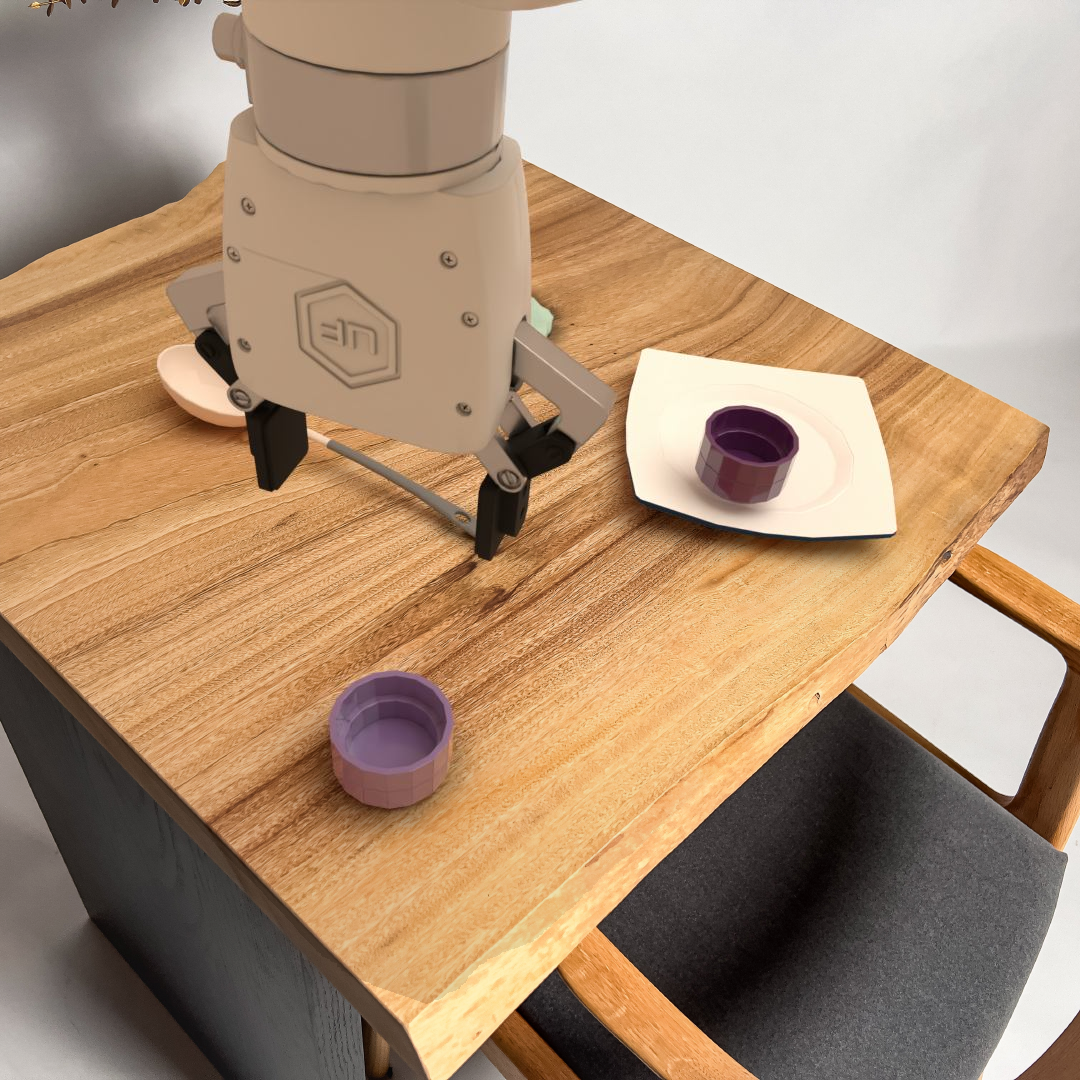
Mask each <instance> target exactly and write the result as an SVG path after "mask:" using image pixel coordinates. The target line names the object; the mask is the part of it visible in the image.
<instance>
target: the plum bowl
mask: <svg viewBox="0 0 1080 1080" xmlns="http://www.w3.org/2000/svg"><path fill="white" fill-rule="evenodd" d="M798 451H799V437H798V436H797V434H796V432H795V431H794V429H793V427H792V426H791V425H790V424H789V423H787V422H786V421H785V420H784V419H782V418H781V417H780V416H778V415H776V414H774V413H772V412H769V411H767V410H765V409H762V408H757V407H752V406H746V405H738V406H727V407H724V408H722V409H719V410H717V411H714V412H713V413H712V415H711V416H710V417H709V418H708V419H707V420H706V423H705V426H704V430H703V434H702V437H701V441H700V445H699V448H698V452H697V456H696V463H695V470H696V472H697V474H698V476H699V479H700V481H701V482H702V483H703V484H704V485H706V486H707V488H708V489H709V490H711V491H712V492H713V493H714V494H716V495H717V496H719V497H721V498H723V499H726V500H728V501H731V502H735V503H741V504H755V503H761V502H767V501H769V500H771V499H773V498H775V497H777V496H779V495H780V493H781V492H782V490H783V489H784V487H785V486H786V483H787V481H788V478H789V475H790V473H791V470H792V467H793V465H794V462H795V459H796V457H797V454H798Z"/></svg>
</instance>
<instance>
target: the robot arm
mask: <svg viewBox="0 0 1080 1080" xmlns="http://www.w3.org/2000/svg"><path fill="white" fill-rule="evenodd" d="M581 1H582V0H240V4H241V5H240V6H241V11H240V12H239V15H238V14H233V13H229V12H221V13H219V14H218V15H217V17H216V19H215V20H214V23H213V27H212V30H211V42H212V43H211V44H212V47H213V51H214V53H215V55H216V57H217V58H218V59H220V60H221V61H226V62H229V63H234V64H236V66H237V67H238V68H239V70H240V69H241V70H244V71H245V81H246V89H247V90H246V91H247V98H248V103H249V105H251V106H250V107H248V108H246V109H244V110H243V111H241V112H239V113H238V114H237V115H236V116H235V117H233V119H232V121H231V122H230V127H229V134H228V142H227V149H226V150H227V152H226V159H225V170H224V183H223V195H222V196H223V197H222V198H223V199H222V220H221V221H222V222H221V223H222V224H221V225H222V226H221V229H222V230H221V231H222V232H221V233H222V236H221V237H222V238H221V241H222V259H221V260H217V261H214V262H210V263H207V264H202V265H199V266H195V267H191V268H187V269H186V270H184V271H183V272H182V273H181V274H180V275H178V277H176V278H175V279H174V280H172V281H171V282H170V283H169V284H167V286H166V288H165V295H166V296H167V298H168V300H169V302H170V303H171V305H172V306H173V308H174V310H175V311H176V313H177V315H178V316H179V318H180V319H181V321H182V322H183V324H184V326H185V327H186V329H187V330H188V332H189V333H193V335H194V337H195V339H194V344H193V345H195V348H196V350H197V352H198V353H199V355H200V356H201V357H202V358H203V359H204V360H205V361H206V362H207V363H208V364H209V365H210V366H211V367H212V369H213V370H214V371H215V372H216V373H217V374H218V375H219V376H220V377H221V378H222V379H223V380H224V381H225V382H226V383H227V384H228V385H229V386H230V387H229V388H228V390H227V397H228V399H229V401H230V403H231V404H232V405H233V406H234V407H235V408H237V409H238V410H240V411H244V412H245V419H246V425H247V426H246V429H247V430H246V431H247V432H246V433H247V438H248V439H247V440H248V445H249V452H250V455H251V456H252V457H253V459H254V465H255V473H256V474H255V475H256V480H257V486H258V488H259V490H262V491H266V492H269V493H273V492H274V491H279V490H280V489H281V488H282V486H283V484H284V483H286V481H287V479H288V478H289V477H290V476H291V475H292V473H293V472H294V471H295V470H296V468H297V467H298V466H299V465H300V463H301V462H302V461H303V460H304V458H305V457H306V456H307V455H308V453H309V449H310V446H309V438H308V433H307V428H308V424H307V423H308V422H307V414H308V415H311V416H314V417H317V418H320V419H324V420H327V421H330V422H333V423H337V424H340V425H343V426H347V427H350V428H352V429H353V428H354V429H357V430H359V431H363V432H367V433H370V434H373V435H377V436H380V437H382V438H383V437H384V438H387V439H391V440H394V441H397V442H401V443H404V444H407V445H410V446H414V447H418V448H421V449H425V450H429V451H433V452H436V453H441V454H446V455H454V456H468V455H474V456H475V458H476V459H477V460H478V462H479V463H480V464H481V465H482V467H483V469H484V470H485V471H486V472H487V473H486V474H485V476H484V478H483V480H482V482H481V483H480V486H479V488H478V494H477V504H476V505H477V508H476V519H477V520H476V534H475V537H474V548H473V553H474V554H477V558H478V559H481V560H483V561H484V560H485V561H487V562H492V561H493V559H494V556H495V555H496V553H497V551H498V549H499V547H500V545H501V544H502V541H503V540H504V537H505V536H508V537H511V538H517V537H518V535H519V534H520V532H521V530H522V528H523V525H524V524H525V521H526V518H527V514H528V509H529V501H530V493H531V484H532V480H533V479H535V478H538V477H539V476H541V475H544V474H546V473H548V472H550V471H552V470H555V469H557V468H560V467H562V466H564V465H566V464H567V463H569V462H570V461H571V460H572V457H573V456H574V454H575V453H576V452H577V451H578V450H579V449H581V447H583V446H584V445H585V444H586V443H588V441H589V440H590V439H591V438H592V437H593V436H595V434H597V432H598V431H600V430H601V428H602V427H603V426H604V425H606V423H607V421H608V419H609V417H610V415H611V413H612V411H613V408H614V406H615V404H616V403H617V394H616V391H615V390H614V389H613V388H612V387H611V386H610V385H608V384H607V383H606V382H604V381H603V380H602V379H600V378H599V377H598V376H597V375H595V374H594V373H593V372H591V371H590V370H589V369H588V368H586V367H585V366H584V365H583V364H581V363H580V362H579V361H577V360H576V359H575V358H574V357H572V356H571V355H569V354H568V353H567V352H566V351H564V350H563V349H562V348H560V347H559V345H557V344H555V342H553V341H552V340H550V338H548V337H547V338H546V337H545V336H544V335H543V334H541V333H540V332H539V331H537V330H536V329H535V328H534V327H532V326H531V297H532V278H533V277H532V243H531V242H532V241H531V228H530V227H531V226H530V225H531V224H530V214H529V212H530V211H529V201H528V194H527V186H526V185H527V184H526V177H525V171H524V164H523V157H522V153H521V147H520V144H519V142H518V141H517V140H516V139H514V138H511V137H510V136H508V135H506V134H504V131H505V130H504V129H505V128H504V127H505V114H506V102H507V101H506V100H507V88H508V87H507V85H508V72H509V56H510V42H511V40H510V39H511V31H512V16H513V12H515V11H517V12H518V11H535V10H539V9H545V8H552V7H553V8H554V7H558V6H562V5H566V4H572V3H576V2H577V3H578V2H581ZM524 383H525V384H526V385H527V386H529V387H530V388H531V389H533V390H534V391H535V392H537V393H538V394H540V395H541V396H542V397H543V398H544V399H546V400H547V401H548V402H550V403H551V404H552V405H553V406H555V407H556V409H558V410H559V412H560V413H559V414H557V415H554V416H551V418H549V419H546V420H544V421H542V422H540V423H538V422H537V419H535V417H534V415H533V414H532V413H531V411H530V410H529V408H528V407H527V405H526V404H525V402H524V401H523V400H522V398H521V396H520V395H519V394H518V393H517V392H519V391H520V389H521V388H522V386H523V384H524ZM499 428H500V429H501V431H503V434H505V436H506V437H507V438H505V437H504V435H503V434H502V432H501V431H500V430H499Z"/></svg>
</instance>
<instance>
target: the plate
mask: <svg viewBox="0 0 1080 1080" xmlns="http://www.w3.org/2000/svg"><path fill="white" fill-rule="evenodd" d="M738 405H746V406H752V407H757V408H762V409H765V410H767V411H769V412H772V413H774V414H776V415H778V416H780V417H781V418H782V419H784V420H785V421H786V422H787V423H789V424H790V425H791V426H792V427H793V429H794V431H795V432H796V434H797V436H798V437H799V451H798V454H797V457H796V459H795V462H794V465H793V467H792V470H791V473H790V475H789V478H788V481H787V483H786V486H785V487H784V489H783V490H782V492H781V493H780V495H779V496H777V497H775V498H773V499H771V500H769V501H767V502H761V503H755V504H741V503H735V502H731V501H728V500H726V499H723V498H721V497H719V496H717V495H716V494H714V493H713V492H712V491H711V490H709V489H708V488H707V486H706V485H704V484H703V483H702V482H701V481H700V479H699V476H698V474H697V472H696V470H695V463H696V456H697V452H698V448H699V445H700V441H701V437H702V434H703V430H704V426H705V423H706V420H707V419H708V418H709V417H710V416H711V415H712V413H713V412H714V411H717V410H719V409H722V408H724V407H727V406H738ZM880 429H881V428H880V426H879V423H878V420H877V417H876V414H875V411H874V408H873V405H872V402H871V398H870V395H869V392H868V389H867V385H866V382H865V380H864V379H863V378H860V376H853V375H843V374H835V373H825V372H817V371H809V370H801V369H792V368H784V367H777V366H769V365H763V364H762V365H761V364H756V363H748V362H740V361H733V360H726V359H718V358H710V357H705V356H699V355H693V354H686V353H680V352H674V351H667V350H662V349H661V350H660V349H654V348H648V347H646V348H644V349H641V353H640V357H639V360H638V363H637V368H636V370H635V374H634V378H633V382H632V385H631V388H630V391H629V396H628V403H627V409H626V417H625V424H624V435H625V436H624V439H625V458H626V462H627V467H628V468H627V469H628V472H629V478H630V484H631V488H632V492H633V497H634V500H635V501H637V502H638V503H639V504H641V505H642V506H644V507H646V508H647V509H651V510H654V511H657V512H660V513H664V514H666V515H670V516H673V517H676V518H679V519H682V520H686V521H688V522H691V523H694V524H697V525H700V526H704V527H707V528H709V529H710V528H711V529H713V530H719V531H725V532H728V533H729V532H730V533H736V534H740V535H747V536H752V537H758V538H767V539H774V540H775V539H776V540H784V541H786V540H787V541H795V542H796V541H797V542H806V543H815V542H836V541H837V542H838V541H839V542H840V541H859V540H878V539H879V540H880V539H890V538H893V537H894V536H896V534H897V532H898V526H897V525H898V524H897V516H896V506H895V497H894V487H893V482H892V475H891V471H890V470H891V469H890V465H889V460H888V456H887V452H886V448H885V445H884V441H883V440H884V439H883V437H882V434H881V430H880Z"/></svg>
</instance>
